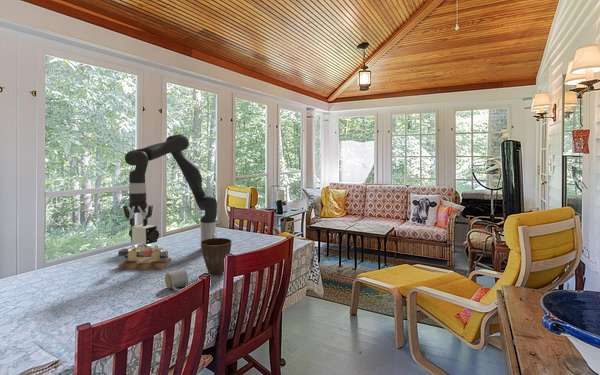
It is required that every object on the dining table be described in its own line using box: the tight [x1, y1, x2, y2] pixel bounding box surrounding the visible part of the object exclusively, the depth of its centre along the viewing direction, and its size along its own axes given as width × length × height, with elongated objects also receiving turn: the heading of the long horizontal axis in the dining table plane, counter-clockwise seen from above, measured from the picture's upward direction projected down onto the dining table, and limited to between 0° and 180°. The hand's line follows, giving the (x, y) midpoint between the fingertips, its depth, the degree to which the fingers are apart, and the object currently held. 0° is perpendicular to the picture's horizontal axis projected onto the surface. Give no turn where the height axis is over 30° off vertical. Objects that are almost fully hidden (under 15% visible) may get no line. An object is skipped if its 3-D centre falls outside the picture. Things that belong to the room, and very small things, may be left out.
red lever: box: [143, 245, 160, 256], centre depth 173 cm, size 2×15×2 cm, turn 1°
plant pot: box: [200, 237, 232, 276], centre depth 169 cm, size 15×15×16 cm
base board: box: [118, 257, 173, 270], centre depth 180 cm, size 22×14×2 cm, turn 92°
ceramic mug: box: [164, 268, 189, 292], centre depth 149 cm, size 11×8×8 cm
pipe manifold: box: [122, 247, 169, 263], centre depth 180 cm, size 22×5×7 cm, turn 92°
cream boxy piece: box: [128, 222, 160, 250], centre depth 204 cm, size 18×8×18 cm, turn 65°
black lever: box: [117, 244, 138, 257], centre depth 173 cm, size 2×15×2 cm, turn 1°
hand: (138, 226), depth 167 cm, fingers open, 5 cm apart
